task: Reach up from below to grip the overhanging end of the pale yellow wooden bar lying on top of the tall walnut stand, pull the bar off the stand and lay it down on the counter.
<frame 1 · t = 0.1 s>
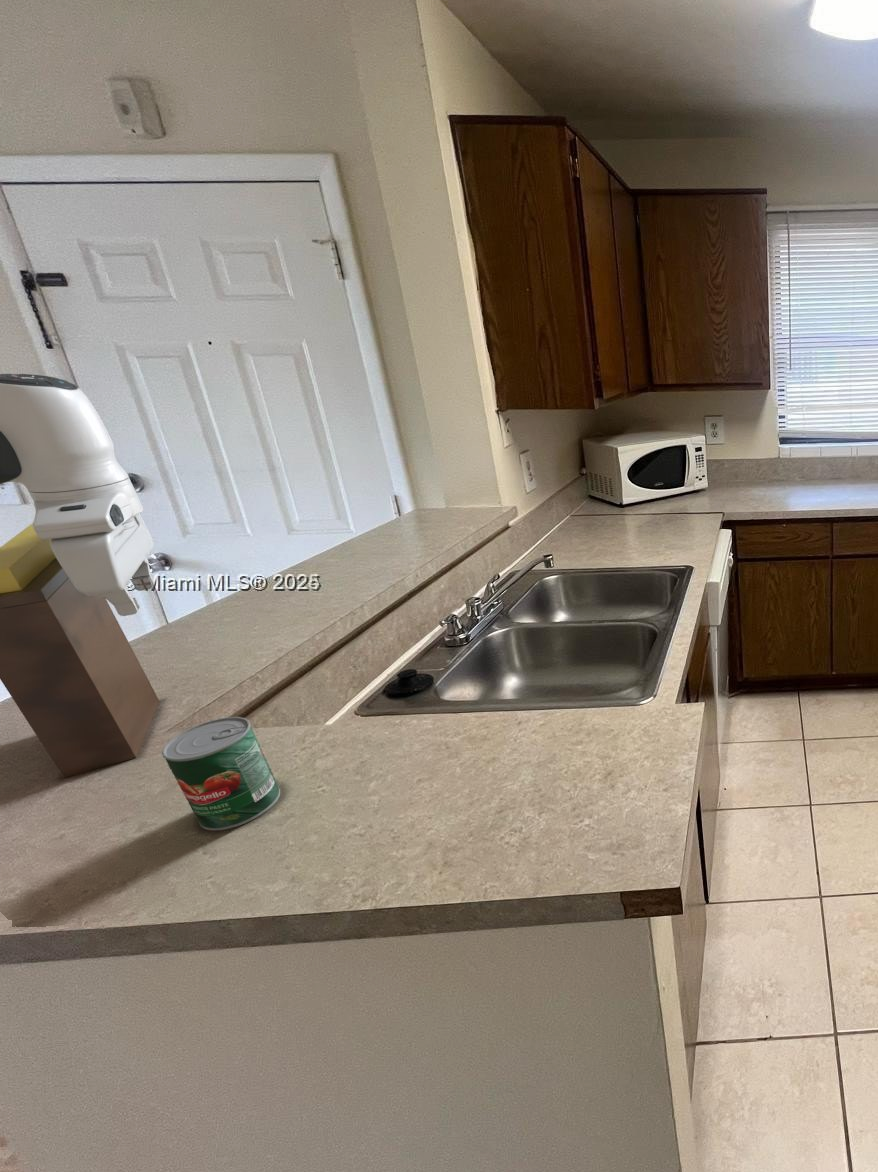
hand: (138, 600, 85), 20 cm above the counter, tool pointing down, fingers open, 8 cm apart
canned tomato: (242, 807, 77), on the counter
yellow bar: (36, 561, 82), point 26 cm above the counter, touching walnut stand
walnut stand: (116, 736, 89), on the counter
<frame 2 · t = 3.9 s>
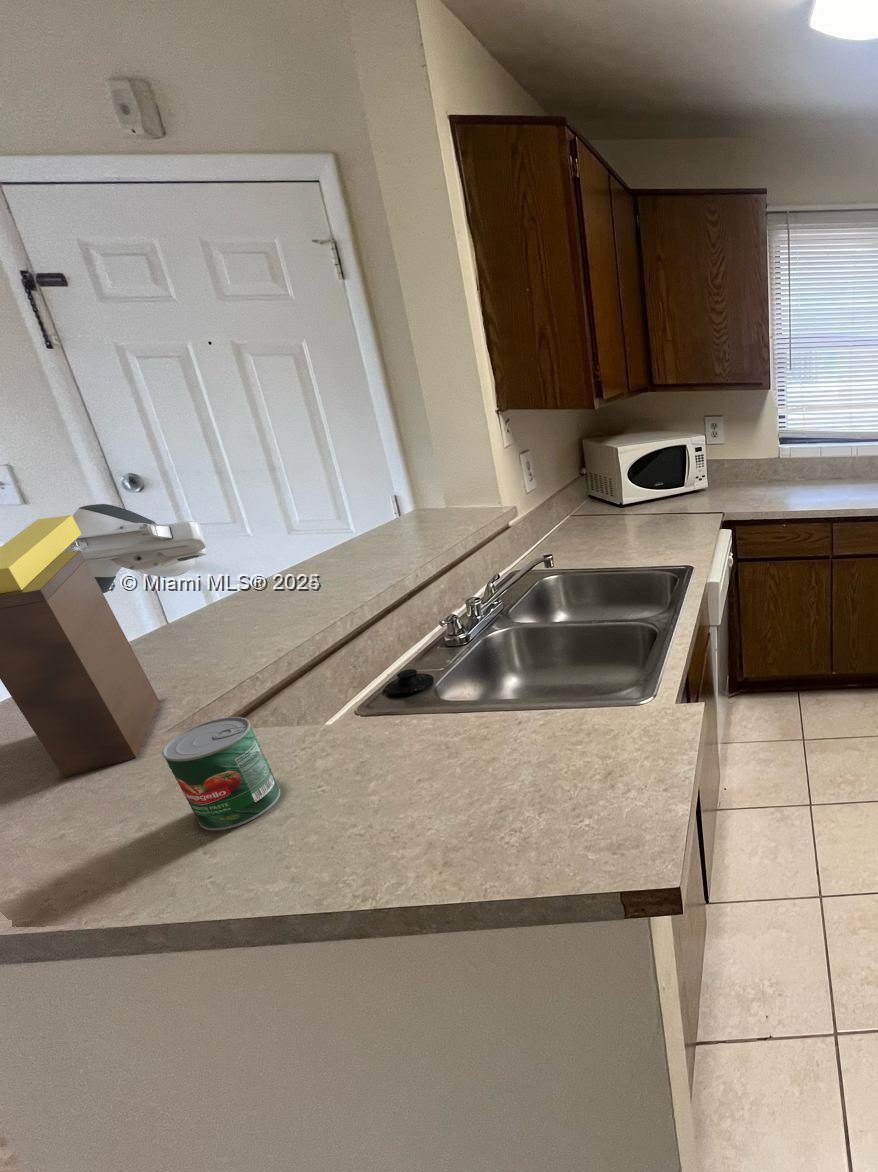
hand: (107, 535, 102), 22 cm above the counter, tool pointing upward, fingers open, 8 cm apart
nothing on the counter moved.
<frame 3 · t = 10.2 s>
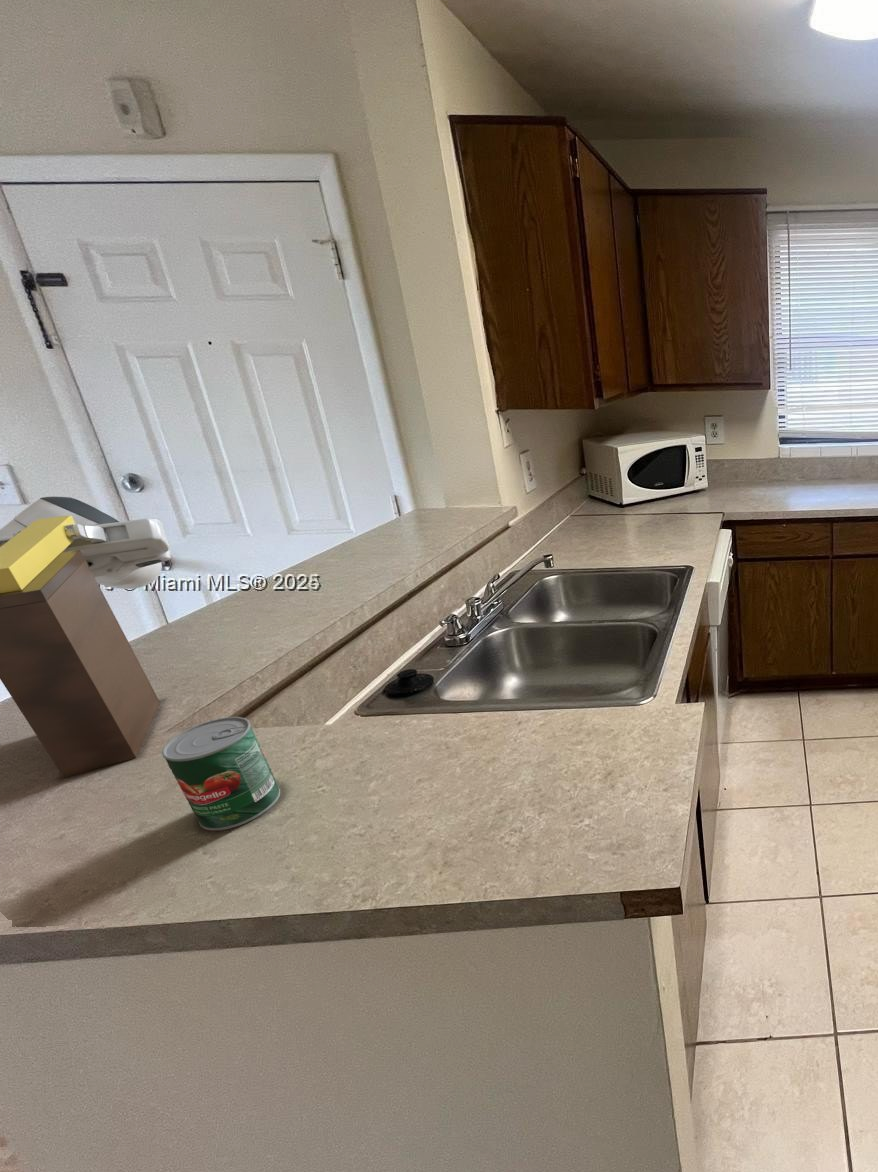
hand: (47, 533, 87), 28 cm above the counter, tool pointing upward, fingers closed on yellow bar, 3 cm apart
yellow bar: (35, 561, 82), point 26 cm above the counter, touching gripper, walnut stand
everything else where it was.
when the fingers open (11 cm above the counter, at t = 19.8 s): yellow bar drops 6 cm, on the counter.
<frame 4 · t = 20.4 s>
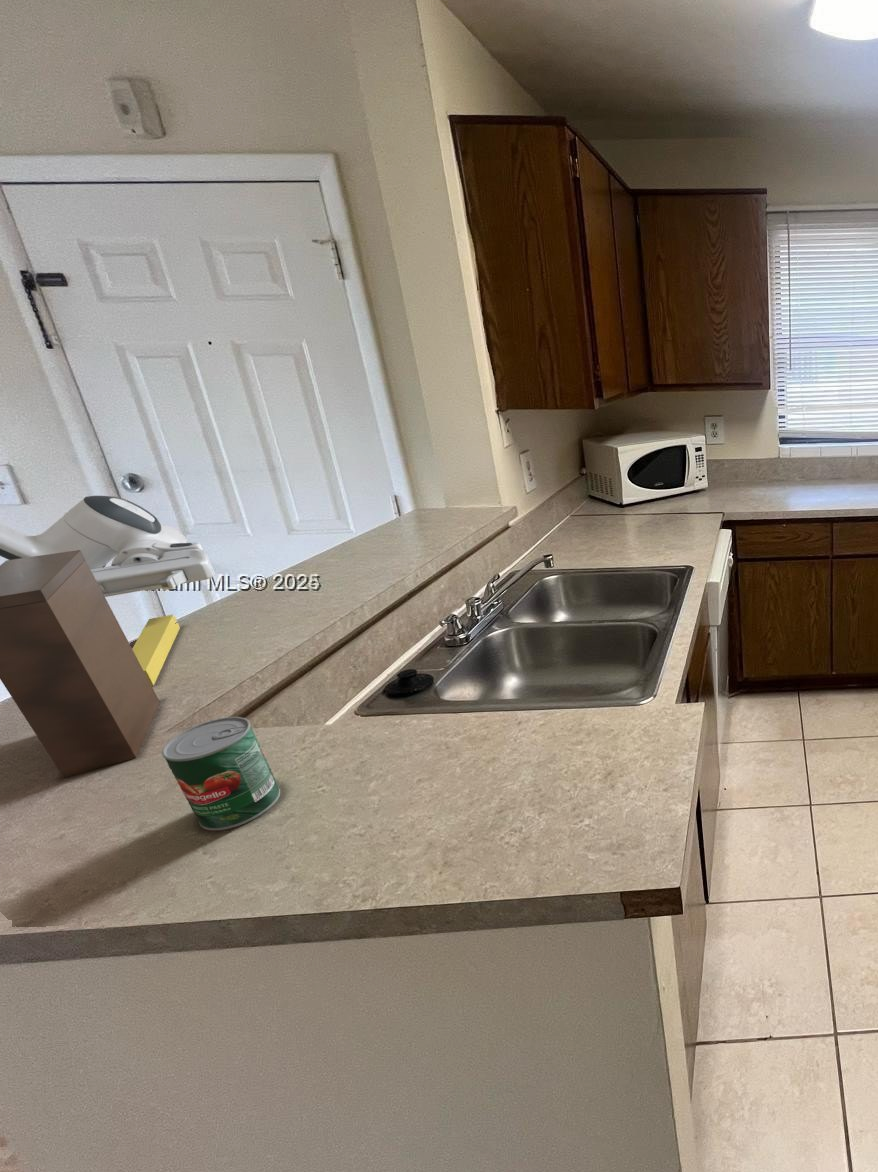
hand: (129, 591, 107), 12 cm above the counter, tool horizontal, fingers open, 8 cm apart
yellow bar: (154, 657, 109), on the counter
everything else where it was.
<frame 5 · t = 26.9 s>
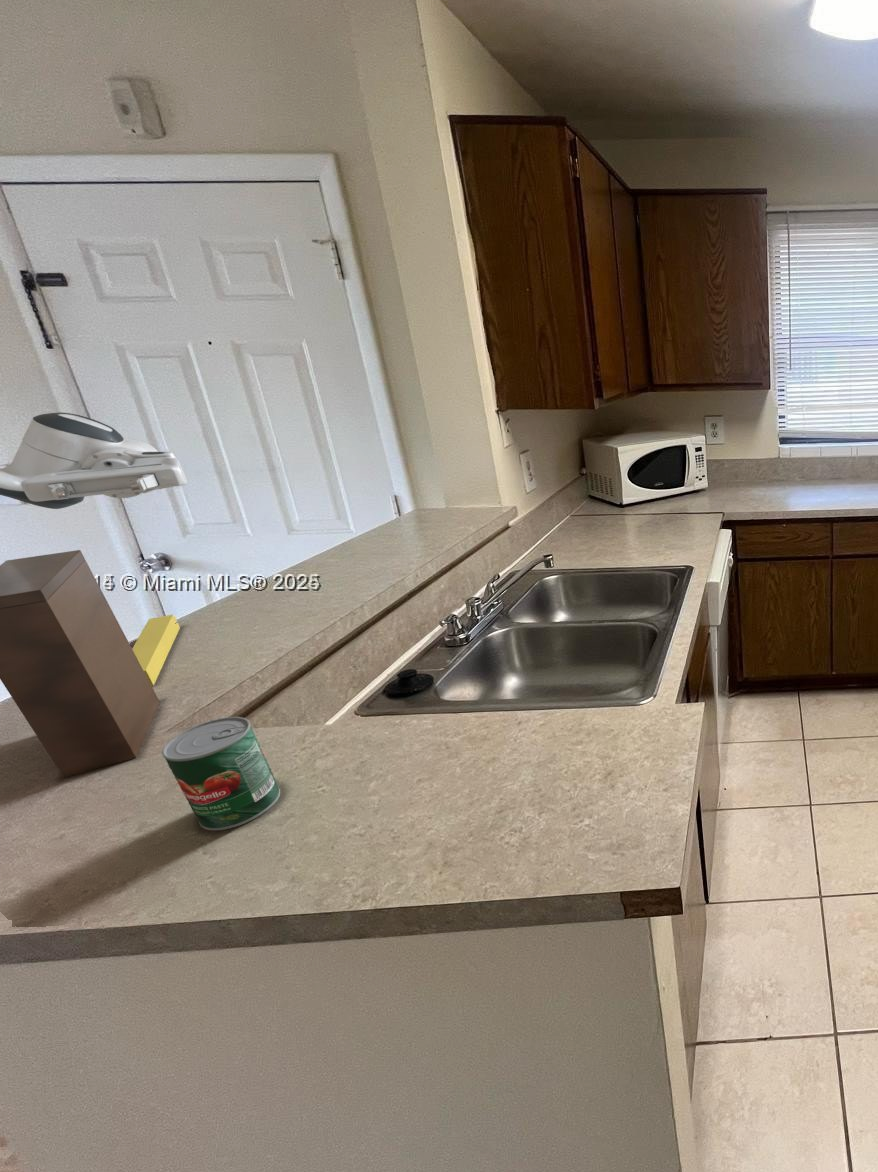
hand: (98, 490, 106), 28 cm above the counter, tool horizontal, fingers open, 8 cm apart
nothing on the counter moved.
at the end: yellow bar on the counter; yellow bar inside the target area (1.2 cm from its centre), on the counter; the gripper is holding nothing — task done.
